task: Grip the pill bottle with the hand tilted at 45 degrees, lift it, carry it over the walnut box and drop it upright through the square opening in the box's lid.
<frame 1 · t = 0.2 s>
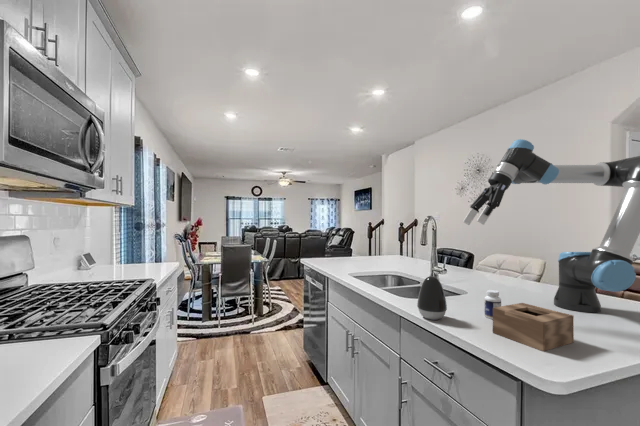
hand: (472, 223, 119), 35 cm above the worktop, tool tilted 30°, fingers open, 13 cm apart
pill bottle: (492, 318, 115), on the worktop
dark grey egg speaker: (431, 318, 114), on the worktop
drop box: (531, 337, 96), on the worktop
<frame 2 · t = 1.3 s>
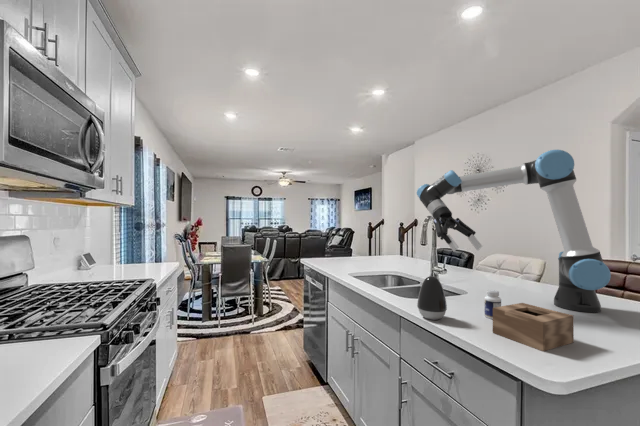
hand: (468, 248, 125), 24 cm above the worktop, tool tilted 45°, fingers open, 13 cm apart
nothing on the worktop moved.
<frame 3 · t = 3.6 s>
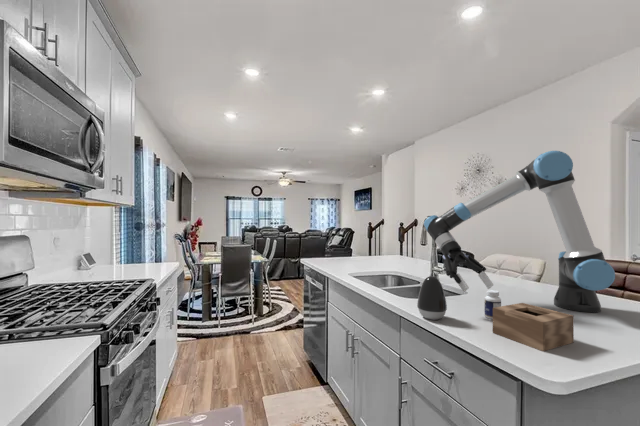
hand: (479, 288, 119), 10 cm above the worktop, tool tilted 45°, fingers open, 13 cm apart
nothing on the worktop moved.
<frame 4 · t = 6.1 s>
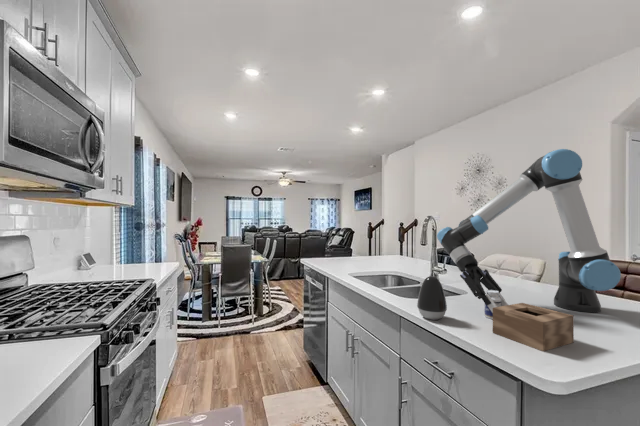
hand: (502, 311, 112), 3 cm above the worktop, tool tilted 45°, fingers closed on pill bottle, 5 cm apart
pill bottle: (492, 318, 115), on the worktop, touching gripper
everything else where it was.
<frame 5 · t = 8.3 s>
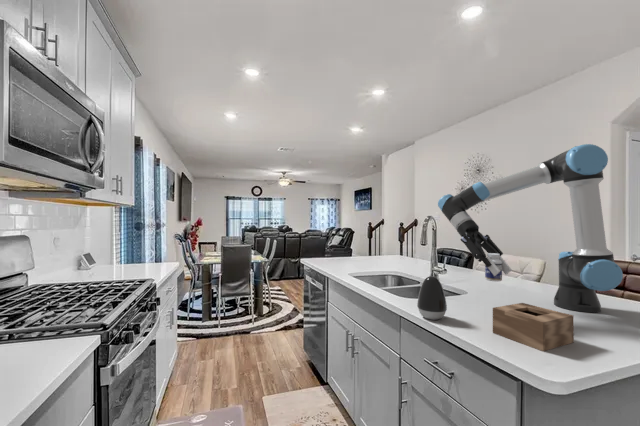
hand: (503, 272, 110), 17 cm above the worktop, tool tilted 45°, fingers closed on pill bottle, 5 cm apart
pill bottle: (493, 280, 114), point 14 cm above the worktop, touching gripper
everything else where it was.
when the fingers open (13 cm above the worktop, at t = 10.8 s): pill bottle drops 9 cm, resting in drop box.
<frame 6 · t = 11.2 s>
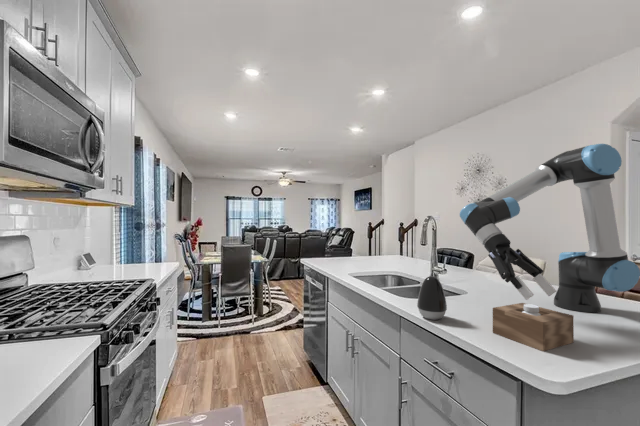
hand: (541, 295, 93), 14 cm above the worktop, tool tilted 45°, fingers open, 10 cm apart
pill bottle: (531, 338, 96), resting in drop box
everything else where it was.
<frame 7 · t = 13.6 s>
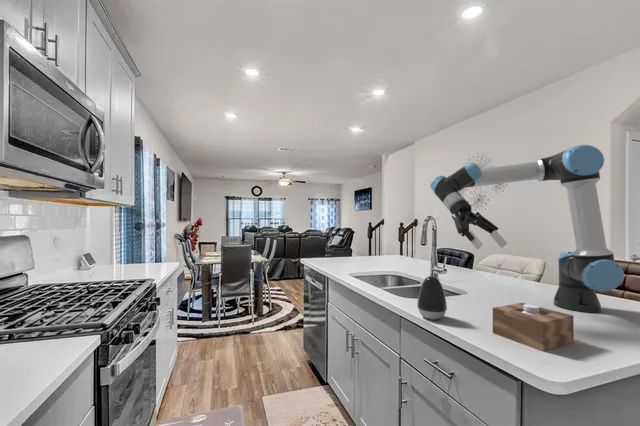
hand: (492, 246, 112), 27 cm above the worktop, tool tilted 45°, fingers open, 13 cm apart
nothing on the worktop moved.
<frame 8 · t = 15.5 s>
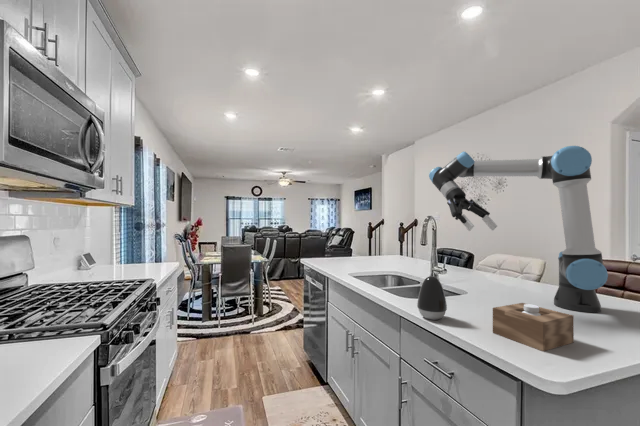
hand: (483, 228, 124), 33 cm above the worktop, tool tilted 45°, fingers open, 13 cm apart
nothing on the worktop moved.
at the end: pill bottle inside the target area on the drop box (0.1 cm from its centre), point 0.0 cm above the drop box's base; the gripper is holding nothing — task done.
